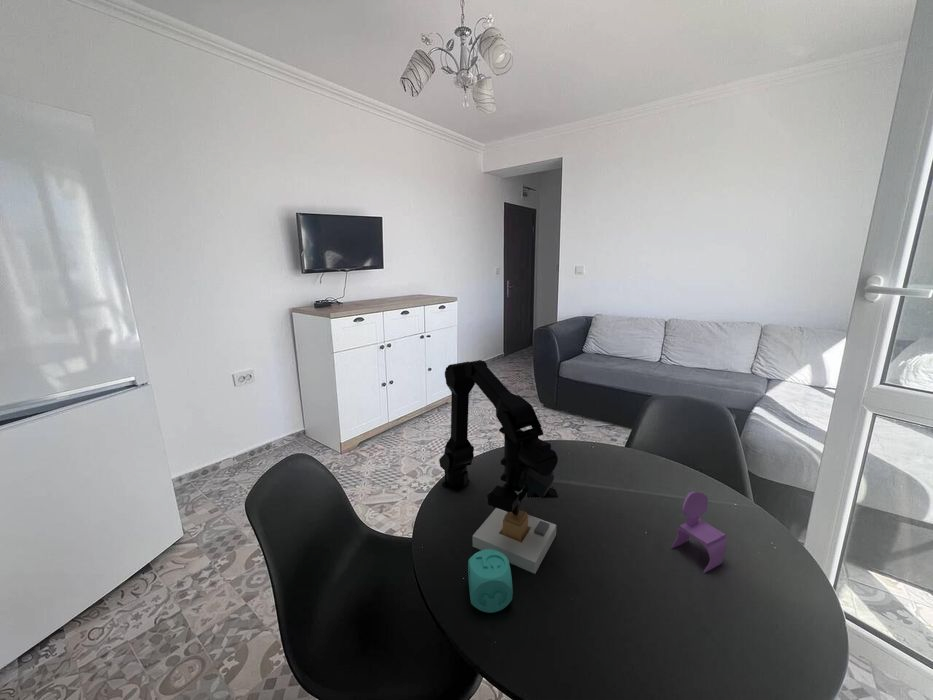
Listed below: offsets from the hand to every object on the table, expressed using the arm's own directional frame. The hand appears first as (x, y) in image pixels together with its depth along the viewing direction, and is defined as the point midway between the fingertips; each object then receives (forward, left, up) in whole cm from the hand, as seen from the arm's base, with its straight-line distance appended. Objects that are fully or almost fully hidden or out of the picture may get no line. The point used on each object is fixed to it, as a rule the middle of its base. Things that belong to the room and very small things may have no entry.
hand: (515, 513), depth 91 cm
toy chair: (+38, +17, -8) cm, 42 cm away
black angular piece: (-2, +22, -8) cm, 24 cm away
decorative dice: (+2, -17, -8) cm, 19 cm away
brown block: (0, 0, -7) cm, 7 cm away
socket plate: (0, 0, -8) cm, 8 cm away
